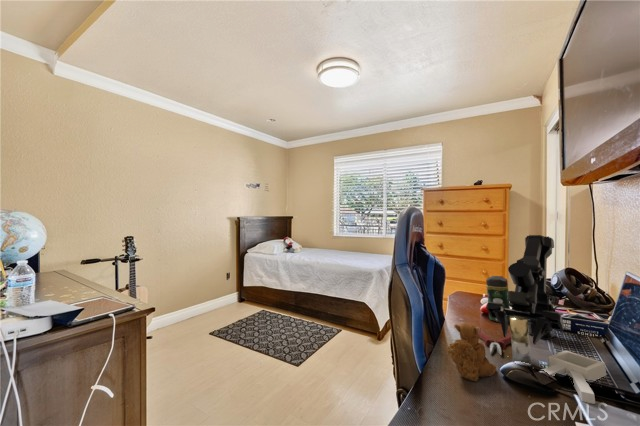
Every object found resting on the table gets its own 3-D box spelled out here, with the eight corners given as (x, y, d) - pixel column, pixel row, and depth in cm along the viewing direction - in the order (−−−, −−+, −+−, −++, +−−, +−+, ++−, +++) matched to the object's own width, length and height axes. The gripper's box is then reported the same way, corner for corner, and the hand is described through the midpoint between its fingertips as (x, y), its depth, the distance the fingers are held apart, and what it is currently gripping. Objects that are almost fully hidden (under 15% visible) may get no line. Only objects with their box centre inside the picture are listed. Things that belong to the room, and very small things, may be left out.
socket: (566, 362, 80) (565, 350, 80) (630, 384, 68) (628, 370, 68) (525, 379, 72) (524, 365, 72) (589, 407, 60) (587, 391, 60)
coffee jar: (490, 315, 124) (487, 274, 125) (511, 318, 119) (508, 275, 120) (487, 321, 116) (484, 277, 117) (509, 324, 111) (506, 279, 112)
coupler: (518, 357, 83) (515, 315, 84) (534, 364, 79) (530, 319, 80) (509, 361, 82) (506, 317, 82) (525, 367, 78) (521, 321, 78)
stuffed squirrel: (497, 369, 77) (494, 322, 78) (483, 391, 67) (479, 337, 68) (460, 358, 84) (457, 315, 85) (443, 377, 74) (439, 328, 75)
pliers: (475, 354, 88) (474, 346, 88) (476, 333, 105) (476, 326, 105) (518, 362, 82) (518, 353, 82) (512, 338, 99) (512, 331, 99)
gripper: (485, 277, 92) (475, 318, 84) (558, 284, 78) (554, 334, 70) (495, 296, 96) (486, 337, 88) (565, 306, 82) (562, 355, 74)
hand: (518, 340), depth 80 cm, fingers open, 7 cm apart
